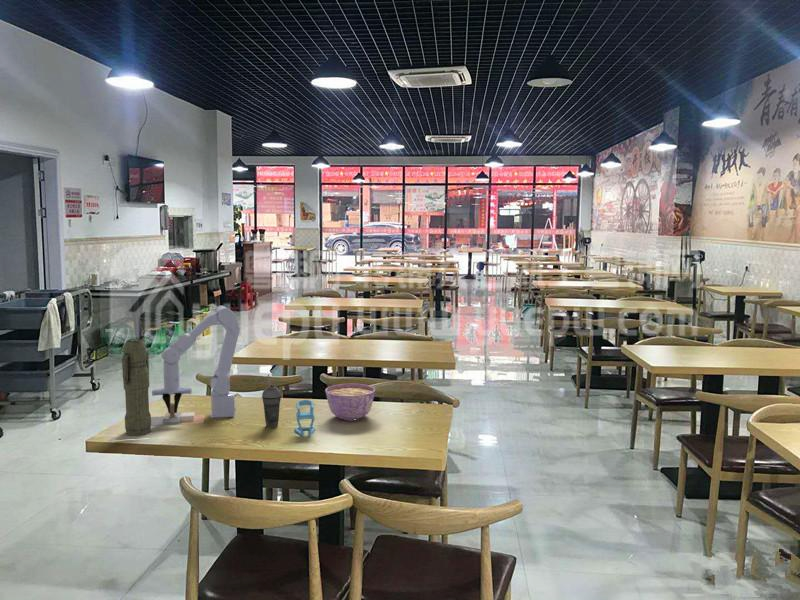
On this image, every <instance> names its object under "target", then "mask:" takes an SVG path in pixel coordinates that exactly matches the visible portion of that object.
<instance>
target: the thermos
mask: <svg viewBox="0 0 800 600" xmlns="http://www.w3.org/2000/svg"><path fill="white" fill-rule="evenodd" d="M149 361H150V360H149V352H148V351H147V345H146V343H145V341H144V339H141V338H132V339H131V338H130V339H127V340H126V341H125V343H124V346H123V355H122V359H121V365H122V367H121V368H122V382H123V383H122V384H123V389H124V392H125V393H124V396H125V415H124V428H125V429H124V430H125V435H126V436H129V437H140V436H145V435H148V434H150V433H151V432H152V430H151V427H152V426H151V417H152V415H151V412H150V404H149V403H150V400H149V397H150V396H149V388H150V366H149V365H150V363H149Z"/></svg>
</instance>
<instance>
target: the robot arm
mask: <svg viewBox="0 0 800 600" xmlns="http://www.w3.org/2000/svg"><path fill="white" fill-rule="evenodd" d="M220 324H221V326H222V327H223V328H224V330H225V335H224V339H223V342H222V348H221V350H220V355H219V360H218V364H217V367H216V369H215V371H214V373H213V376H212V377H211V378H210V381H209V386H210V388H211V389H212V390H211V392H210V403H211V405H210V407H211V408H210V409H211V411H210V415H209V418H224V417H225V418H234V417H235V416H236V415H235V414H236V410H237V409H236V402H235V401H236V396H235V393H234V392H230V389H231V383H230V381H231V367H232V364H233V359H234V356H235V351H236V346H237V343H238V339H239V335H240V330H241V329H240V328H241V327H240V325H239V323H238V319H237V315H236V314H235V313H234V312H233V310H231V308H229V307H226V306H225V305H217V306H216V307H215V308H214V309H213V310H212V309H211V311H209V312H208V313H207V315H205V316H204V318H202V319H201V321H200V322H199V323H197V324H196V326H194V328H192V329H191V330H190V331H189V332H188V333H187V332H184V333H183V334H179V335H178V338H177V339H176V340H175V341H174V342H172V343H170V344H168V346H169V347H166V348H165V349H164V350H163V351H162V353H161V357H162V359H163V367H162V368H163V388H159V389H158V388H157V389H152V390H151V395H152V396H153V397H154V396H161V397H162V401H164V403H165V406H166V408H167V413H170V404H171V403H172V402H171V397H172V395H174V396H173V401H174V402H173V403H175V413H177V412H178V408H179V403H180V400H181V398H182V396H183V395H186V394H187V395H192V393H193V389H192V387H181V385H180V383H181V382H180V365H179V361H180V360H181V356H183V355H184V354H185V353H186V352H187V351H189V350H190V349H191V348H192V347H193V346H194V345H195V342H196V339H197V338H198V337H199V336H200V335H202V334H203V333H204V332H205V331H206V330H207V329H209V328H210V327H212V326H217V325H220Z"/></svg>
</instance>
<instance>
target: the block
mask: <svg viewBox="0 0 800 600" xmlns="http://www.w3.org/2000/svg"><path fill="white" fill-rule="evenodd" d="M195 415H196V412H194V411H192V412H191V411H190V412H182V414H181V416H180V421H194V419H195Z"/></svg>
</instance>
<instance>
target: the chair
mask: <svg viewBox="0 0 800 600" xmlns="http://www.w3.org/2000/svg"><path fill="white" fill-rule="evenodd" d="M295 406H296V409H297V412H295V415H296V422H297V426H298V427H294V432H295V433H297V434H298V435H299V436H301V437H302V438H303V437H305V433H304V431H308V432H307V437H311V436H312V434H313V433H314V432H315V431H316V426H313V425H314V422H315V412H314V408H315V402H313V401H311V400H309V399H303V400H300V401H298V402H297V403H295ZM301 406H309V407H310V408H309V411H305V412H304V411H303V412H302V411H301V409H300V407H301ZM300 420H311V422H310V426H307V427H304V426H303V427H302V424H301V422H300Z"/></svg>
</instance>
